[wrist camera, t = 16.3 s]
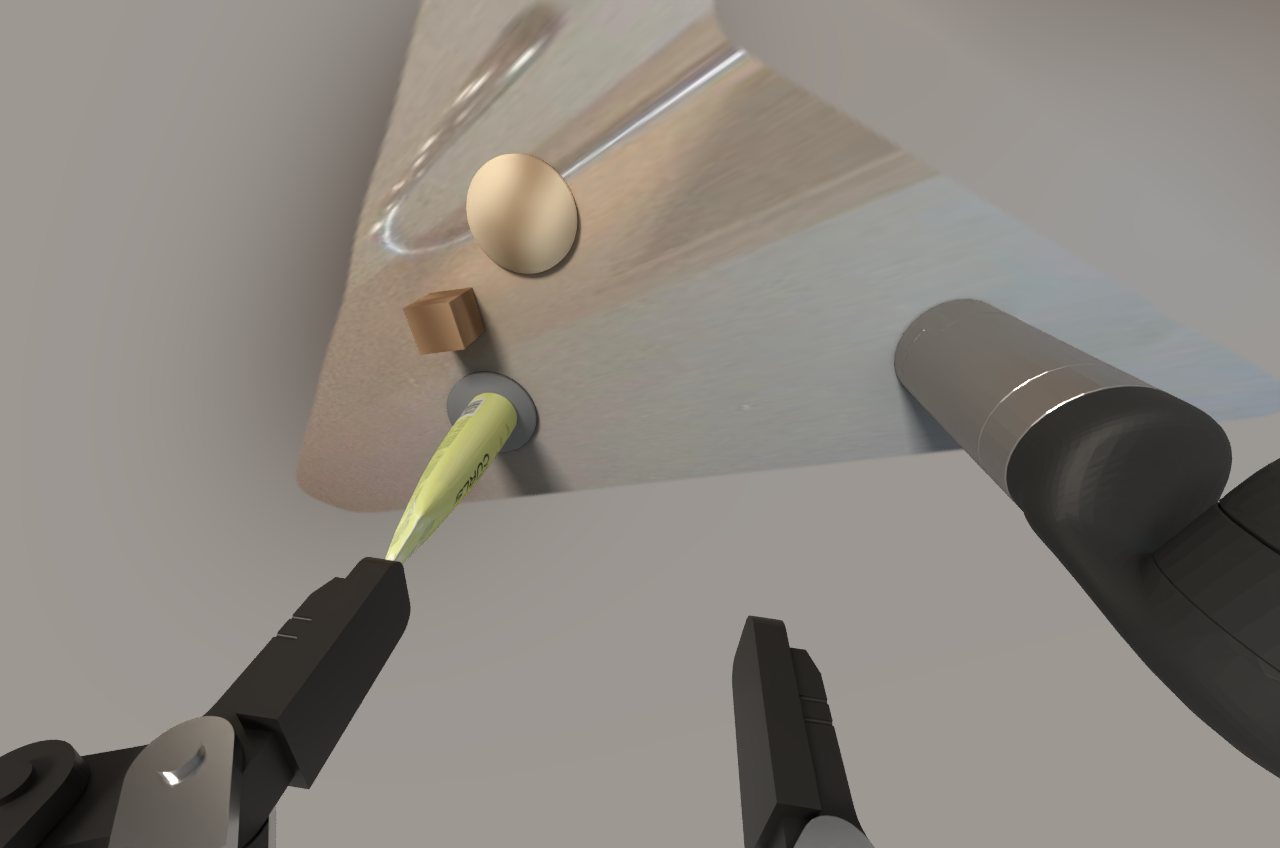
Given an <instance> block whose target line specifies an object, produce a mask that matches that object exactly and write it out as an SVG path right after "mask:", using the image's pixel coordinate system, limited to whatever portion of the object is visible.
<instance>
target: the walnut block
mask: <svg viewBox="0 0 1280 848" xmlns="http://www.w3.org/2000/svg"><path fill="white" fill-rule="evenodd" d="M403 310H404V313H405V316H406V318H407V321H408V323H409V326H410V329H411V331H412V334H413V336H414V339H415V342H416V344H417V347H418V349H419V352H420V355H422V354H431V353H439V352H447V351H455V350H464V349H466V348H467V347H468V346H469V345H470V344H471V343H472V342H473V341H474V340H475V339H477V338H478V337H479V336H480V335H481V334H482V333H483V332H484V331H485V328H484V325H483V322H482V318H481V315H480V312H479V309H478V305H477V302H476V299H475V296H474V293H473V289H472V288H464V289H457V290H450V291H443V292H436V293H430V294H428V295H426V296H424V297H423V298H421V299H419V300H417V301H416V302H414V303H412V304H410V305H408V306H407V307H405V308H403Z"/></svg>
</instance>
